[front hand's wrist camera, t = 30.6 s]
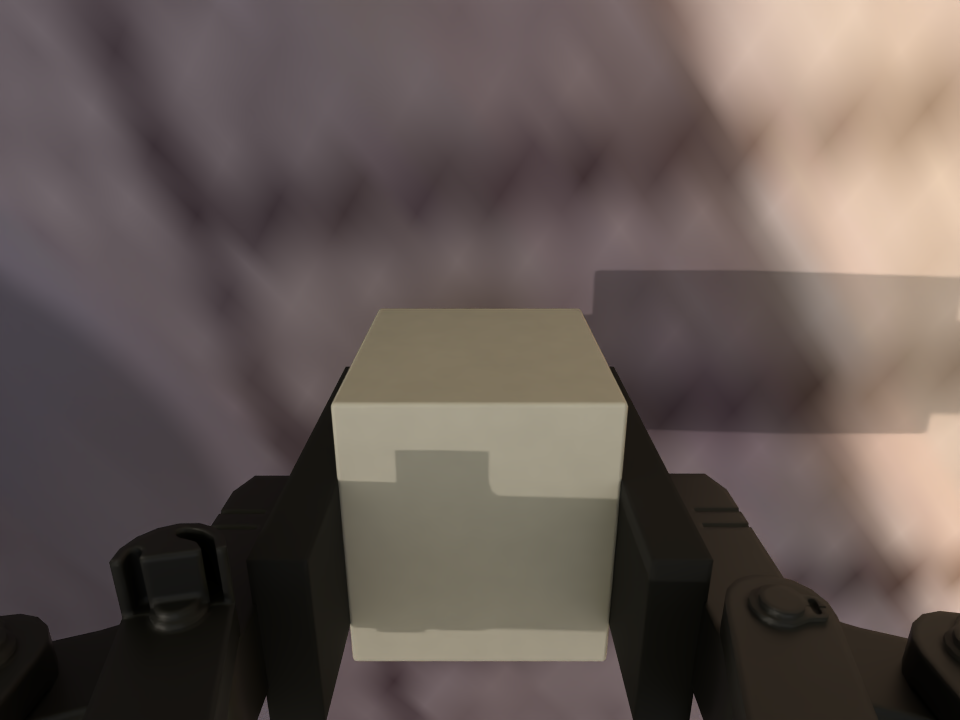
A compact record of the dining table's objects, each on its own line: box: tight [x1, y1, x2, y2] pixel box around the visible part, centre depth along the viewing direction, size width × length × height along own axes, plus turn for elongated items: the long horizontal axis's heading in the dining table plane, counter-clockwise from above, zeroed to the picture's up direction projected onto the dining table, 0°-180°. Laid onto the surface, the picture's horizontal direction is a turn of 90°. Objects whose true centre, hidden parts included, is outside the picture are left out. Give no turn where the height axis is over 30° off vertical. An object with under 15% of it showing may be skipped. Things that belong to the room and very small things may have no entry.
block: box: [331, 309, 628, 661], centre depth 13 cm, size 4×5×5 cm
